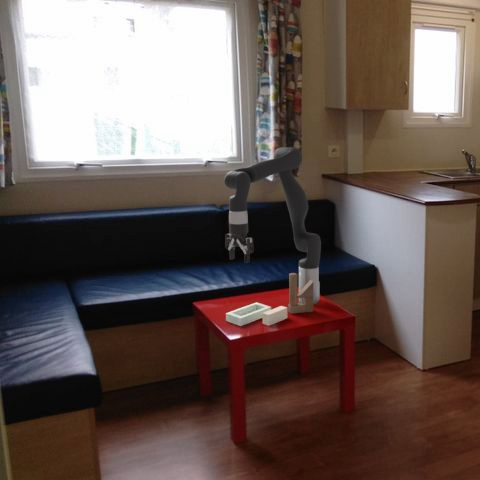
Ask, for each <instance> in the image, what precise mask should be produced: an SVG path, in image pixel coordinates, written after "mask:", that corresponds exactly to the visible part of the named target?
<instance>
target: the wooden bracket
mask: <svg viewBox="0 0 480 480" xmlns="http://www.w3.org/2000/svg"><path fill="white" fill-rule="evenodd" d="M288 275H289V276H288V277H289V278H288V279H289V280H288V282H289V283H288V284H289V285H288V286H289V290H288V291H289V293H288V294H289V296H288V297H289V302H288V305H287V312H288V313H289V314H302V313H303V314H304V313H313V312H314V304H313V281H312V280H310V281H309V282H308V283H307V284H306V285H305V286H304V287H303V289H302V290H301V291H300V292H299V291H298V273H296V272H291V273H289V274H288ZM299 298H304V304H302V303H300V302H298V299H299Z"/></svg>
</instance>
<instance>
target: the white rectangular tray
mask: <svg viewBox="0 0 480 480" xmlns="http://www.w3.org/2000/svg"><path fill="white" fill-rule="evenodd" d="M269 310H272V306H269V305H266V304H263V303H259V302H254V303H251V304H249V305H248V304H247V305H246V306H245V305H244V306H243V307H239V308H237V309H234V310H231V311H229V312H226V313H225V321H226V322H229V323H231V324H233V325H236V326H239V327H242V326H245V325H248V324H250V323H252V322H255V321H257V320H260V319H263V315H262V313H264V312H266V311H269Z"/></svg>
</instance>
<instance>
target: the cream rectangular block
mask: <svg viewBox="0 0 480 480" xmlns="http://www.w3.org/2000/svg"><path fill="white" fill-rule="evenodd" d="M262 315H263V318H262V324H263V325H266V326H271V325H274V324H276V323H279V322H281V321H284V320H286V319H288V306H284V305H279V306H277V307H275V308H271V310H269V311H266V312H264V313H262Z"/></svg>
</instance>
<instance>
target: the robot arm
mask: <svg viewBox="0 0 480 480" xmlns="http://www.w3.org/2000/svg"><path fill="white" fill-rule="evenodd" d="M302 162H303V154H302V152H301V150H300V149H298V148H296V147H285V146H283V147H282V146H281V147H278V148H276V149H275V151H274V153H273V158H272V159H266V160H262V161H258V162H255V163H253V164H251V165H248V166H246V167H242V168H237V169H233V170H231V171H228V172H227V173H226V175H225V176H224V181H223V182H224V184H225V186H226V187H227V188H228V189H230V190H235V194H234V195H231V196H230V197H229V198H228V199H229V200H228V206H229V207H228V209H229V212H228V228H229V229H228V230H229V231H228V232H229V233H226V234H225V235H224V240H225V241H224V248H225V249H227V250H228V256H229V257H228V258H229V260H235V258H236V255H235V254H236V253H235V251H236V250H235V248H236V247H238V248H240V249H241V250H242V252H243V254H244V255H243V257H244V258H243V262H244V263H245V264H248V263H250V260H251V253H254V251H255V249H254V248H255V247H254V237H248V233H249V221H248V220H249V219H248V218H249V217H248V215H249V214H248V200H247V199H248V198H249V192H250V188H251V184H253V183H257V182H259V181H262V180H263V179H266V178H267V177H270V176H274V175H276V174H278V177H279V179H280V182H281V185H282V189H283V194H284V196H285V201H286V206H287V210H288V212H289V218H290V221H291V226H292V233H293V241H294V245H295V248H296V249H297V250H298V251H299V252H302V253H306V257H305V258H301V259H299V261H298V293H299V292H300V291H301V290H302V289H303V287H304V286H305V285H306V284H307V283H308V282H309V281H310V280H312V281H313V305H316V304H318V303H319V301H320V295H321V293H320V288H321V287H320V286H321V285H320V284H321V283H320V281H319V273H320V271H319V269H320V268H319V267H320V265H319V264H320V261H321V250H322V241H321V236H320V235H319V234H317V233H312V232H307V230H306V227H305V226H306V225H305V220H306V217H307V214H308V211H309V202H308V199H307V198H308V197H307V194H306V191H305V189H303V187H302V186H301V184H300V183H299V182H298V180H297V179H296V177H295V176H294V174H293V172H292V170H295V169H298V168H299V167H300V165H301V164H302ZM298 303H302V304H304V298H298Z"/></svg>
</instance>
